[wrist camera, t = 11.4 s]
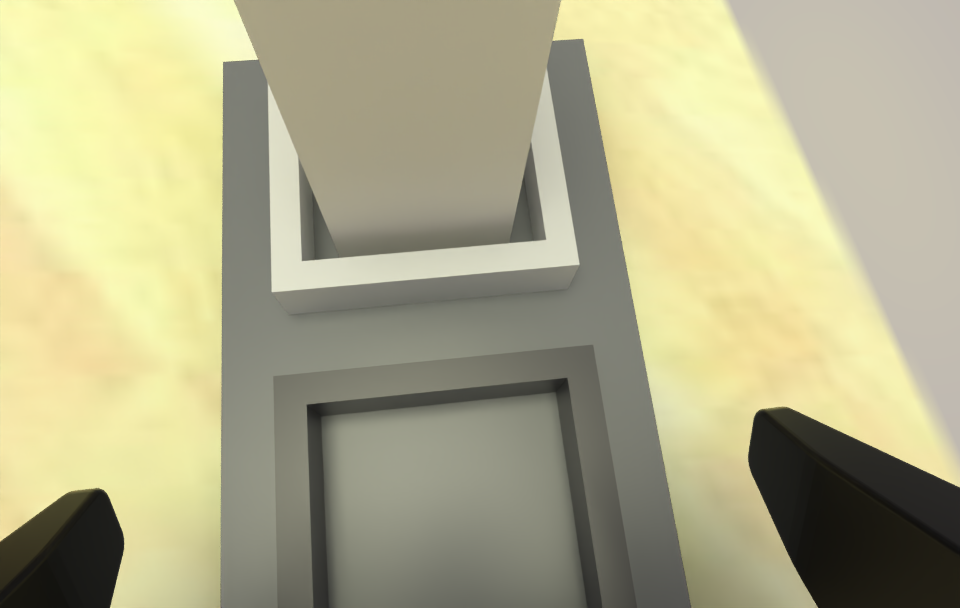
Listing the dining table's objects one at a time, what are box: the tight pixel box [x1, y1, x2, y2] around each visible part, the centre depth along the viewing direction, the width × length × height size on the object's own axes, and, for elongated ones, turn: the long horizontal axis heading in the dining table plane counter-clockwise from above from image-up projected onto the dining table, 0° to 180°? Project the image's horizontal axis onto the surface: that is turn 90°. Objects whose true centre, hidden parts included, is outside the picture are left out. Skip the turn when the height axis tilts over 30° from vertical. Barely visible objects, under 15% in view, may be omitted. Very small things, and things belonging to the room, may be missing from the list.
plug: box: [234, 0, 561, 258], centre depth 14 cm, size 5×5×14 cm
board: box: [221, 39, 691, 608], centre depth 19 cm, size 20×12×3 cm, turn 6°
